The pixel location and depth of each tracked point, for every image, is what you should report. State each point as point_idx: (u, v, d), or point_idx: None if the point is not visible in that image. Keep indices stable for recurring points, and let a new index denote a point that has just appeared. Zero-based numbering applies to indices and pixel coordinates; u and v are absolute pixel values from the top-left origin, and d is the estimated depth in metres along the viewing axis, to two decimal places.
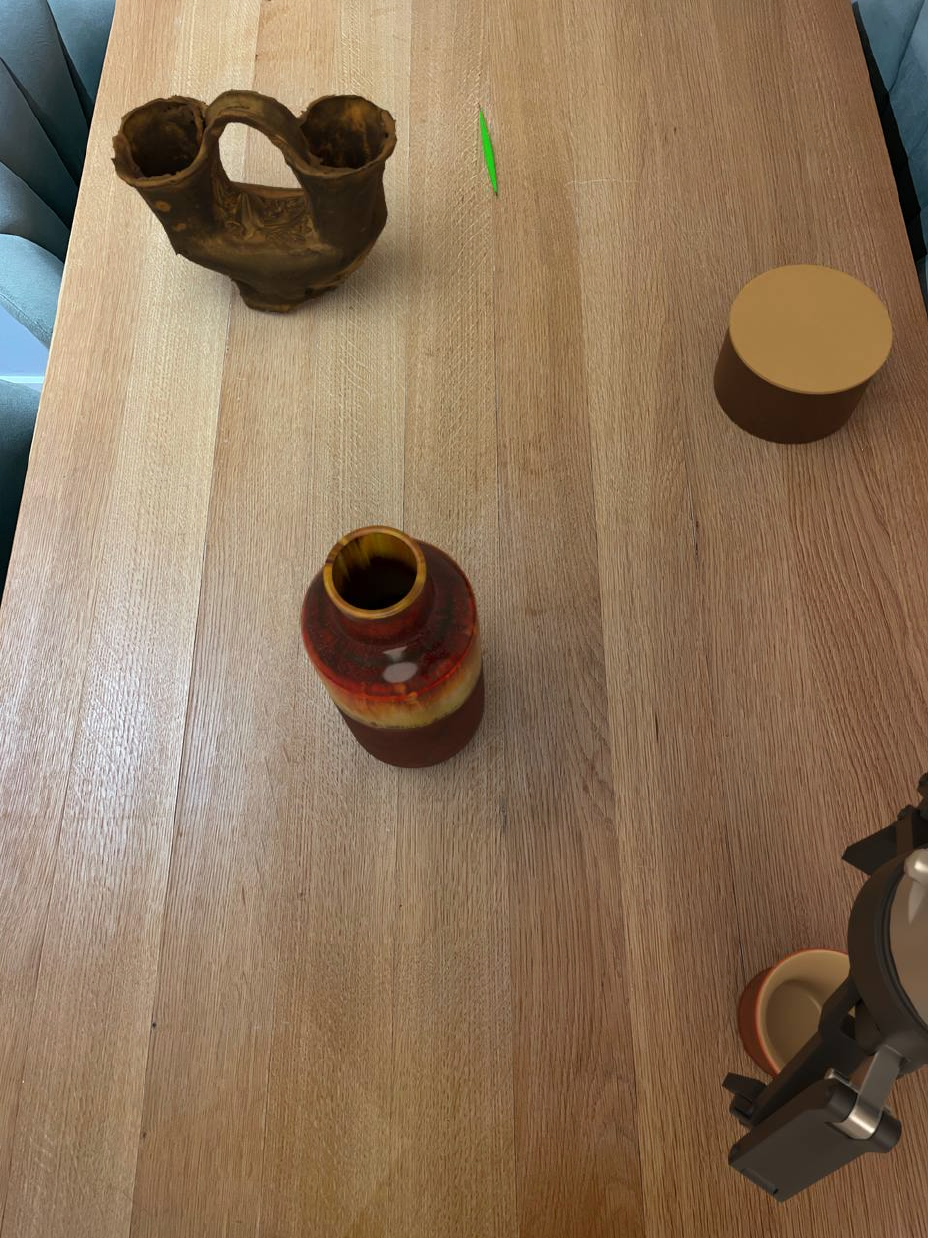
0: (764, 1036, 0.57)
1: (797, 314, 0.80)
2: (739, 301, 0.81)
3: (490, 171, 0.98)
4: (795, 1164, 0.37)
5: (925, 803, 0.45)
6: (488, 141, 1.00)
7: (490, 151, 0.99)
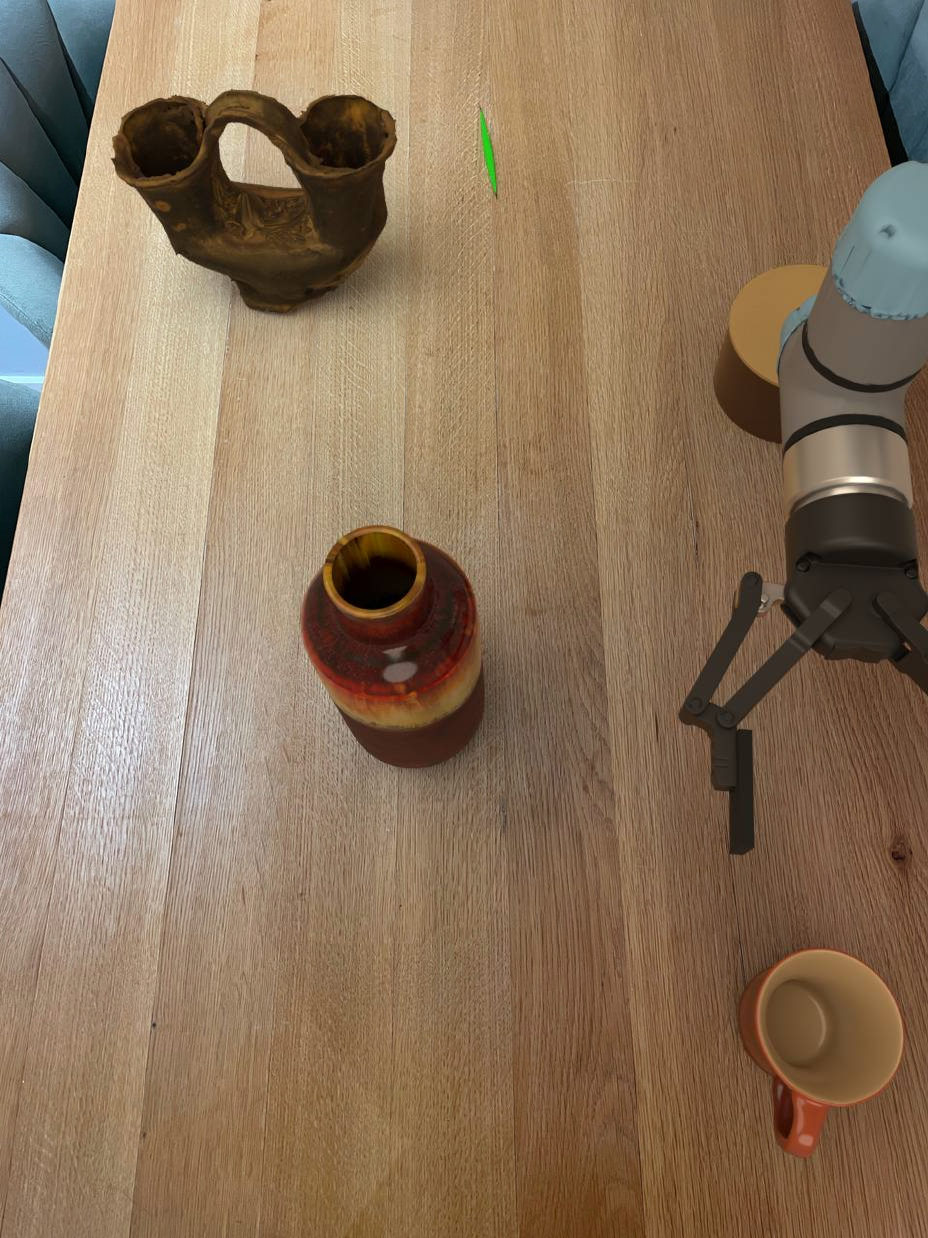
0: (764, 1036, 0.57)
1: None
2: (739, 301, 0.81)
3: (490, 172, 0.98)
4: None
5: None
6: (488, 142, 1.00)
7: (490, 152, 0.99)
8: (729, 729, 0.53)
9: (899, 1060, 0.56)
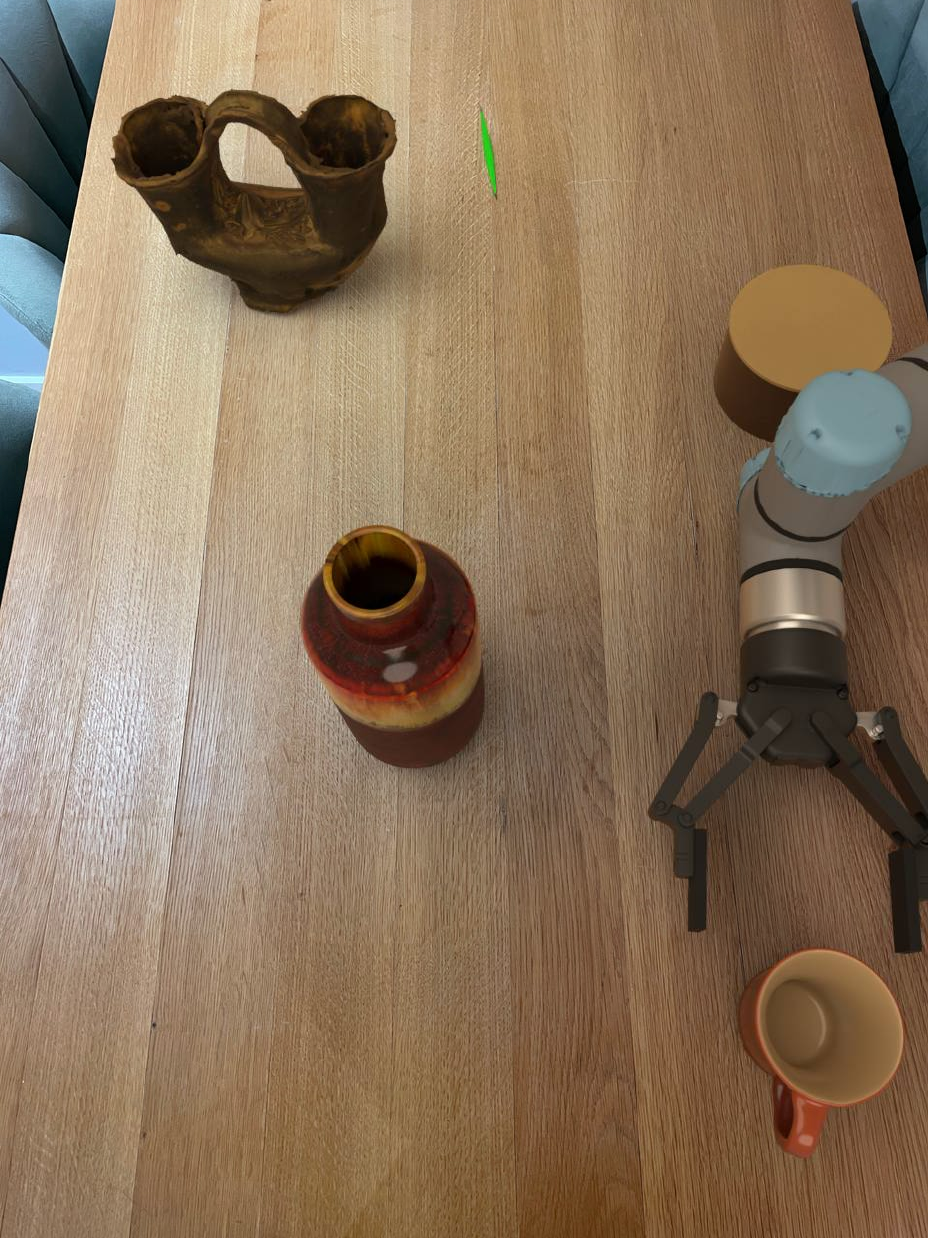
0: (764, 1036, 0.57)
1: (797, 314, 0.80)
2: (739, 301, 0.81)
3: (490, 173, 0.98)
4: (672, 766, 0.67)
5: None
6: (488, 143, 1.00)
7: (490, 153, 0.99)
8: (688, 827, 0.64)
9: (899, 1060, 0.56)
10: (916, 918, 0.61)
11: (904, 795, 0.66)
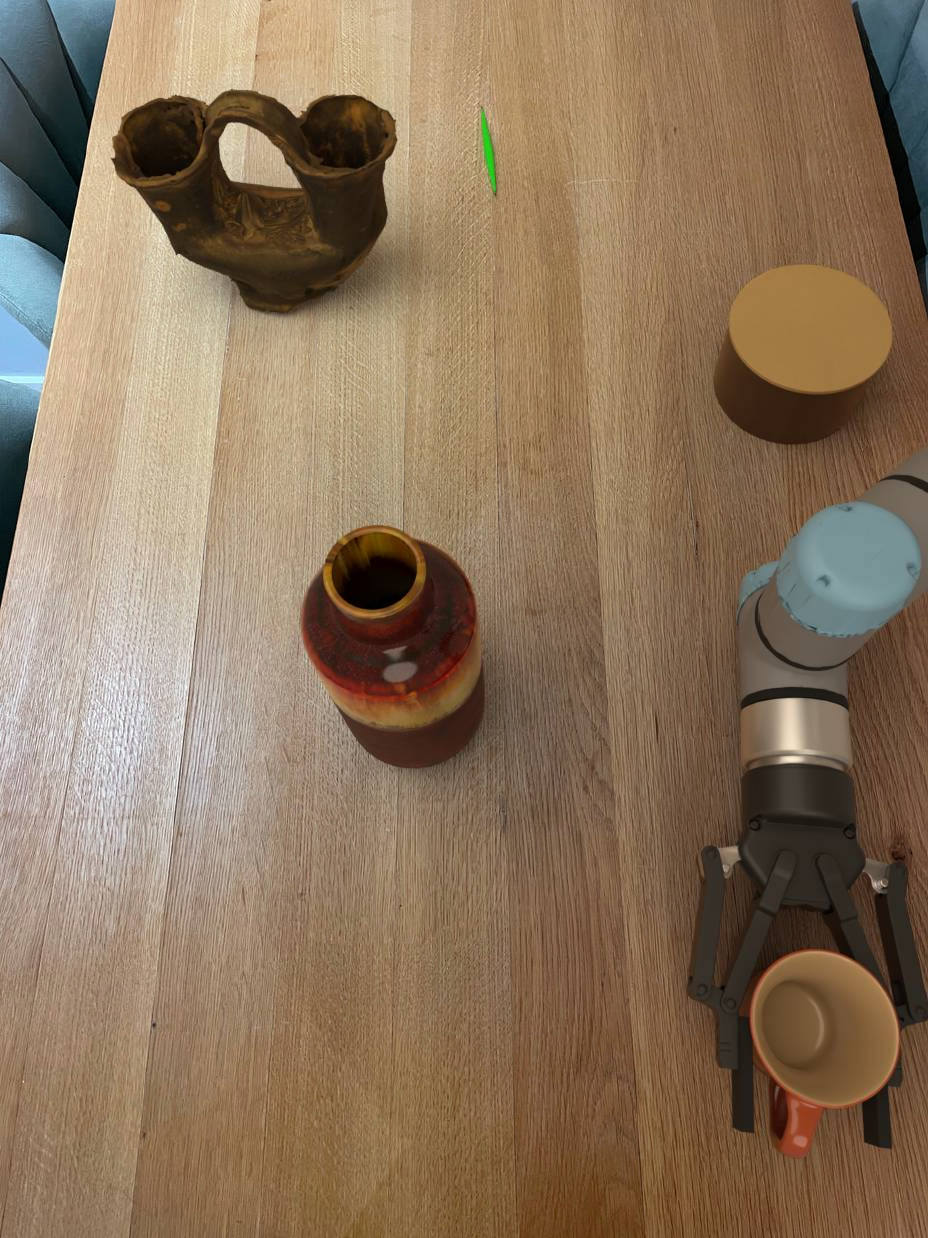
0: (758, 1037, 0.57)
1: (797, 314, 0.80)
2: (739, 301, 0.81)
3: (489, 171, 0.98)
4: (697, 938, 0.62)
5: None
6: (488, 141, 1.00)
7: (490, 151, 0.99)
8: (734, 1013, 0.60)
9: (894, 1062, 0.55)
10: (886, 1111, 0.57)
11: (889, 958, 0.62)
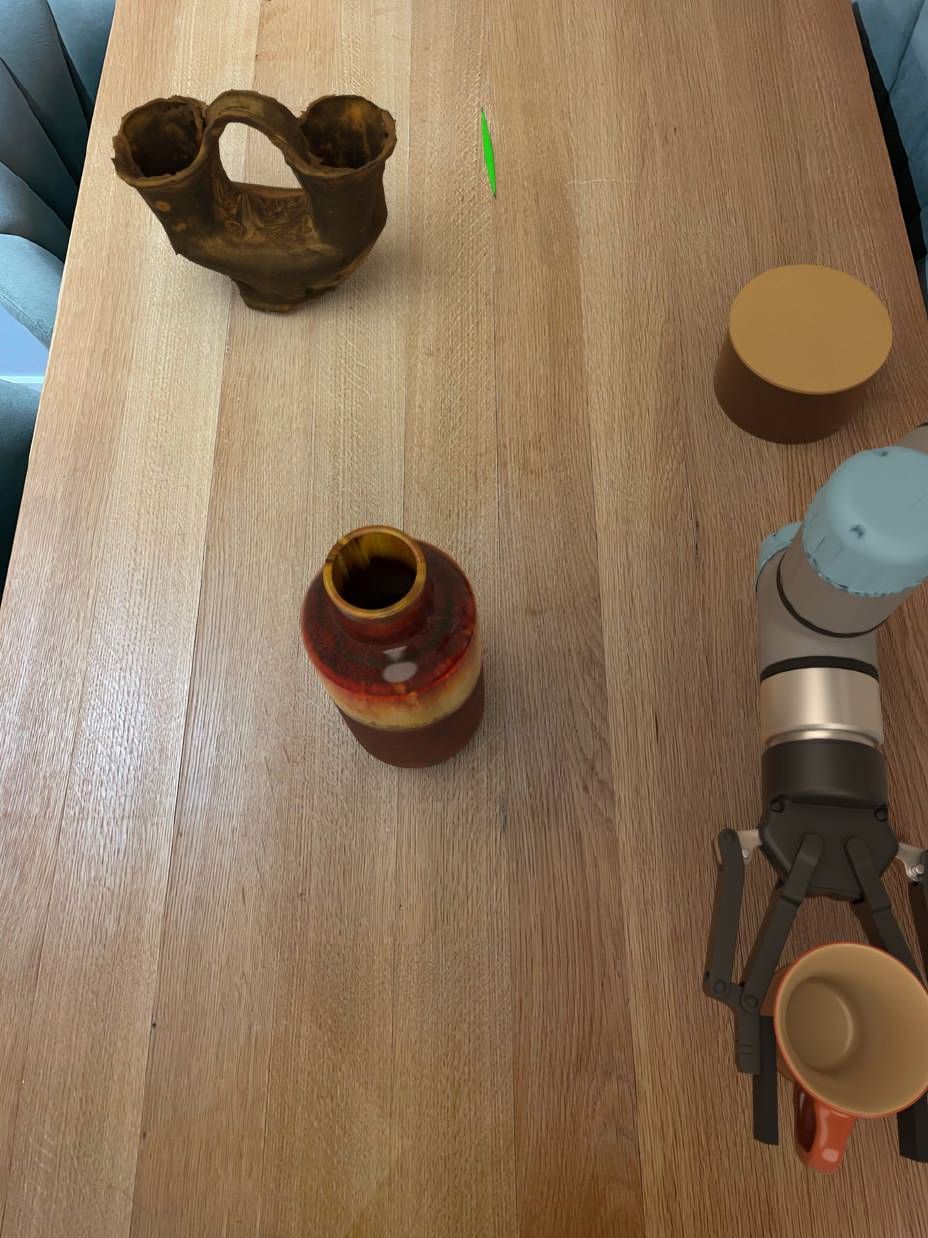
0: (783, 1038, 0.51)
1: (797, 314, 0.80)
2: (739, 301, 0.81)
3: (489, 173, 0.98)
4: (713, 930, 0.57)
5: None
6: (488, 143, 1.00)
7: (490, 153, 0.99)
8: (756, 1012, 0.54)
9: None
10: (925, 1121, 0.51)
11: (925, 953, 0.56)
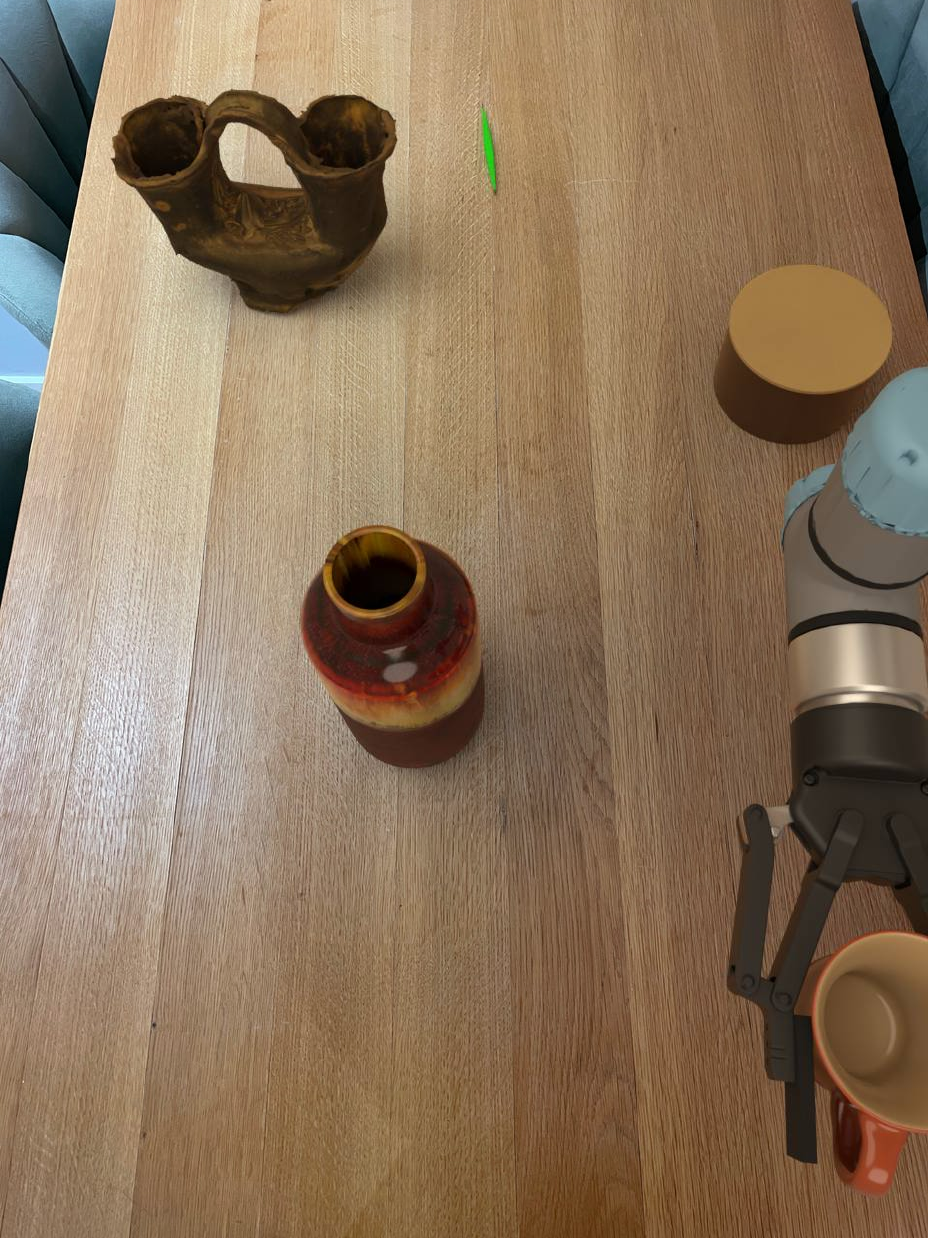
0: (823, 1041, 0.44)
1: (797, 314, 0.80)
2: (739, 301, 0.81)
3: (490, 169, 0.98)
4: (739, 918, 0.50)
5: None
6: (489, 139, 0.99)
7: (490, 149, 0.99)
8: (789, 1011, 0.48)
9: None
10: None
11: None
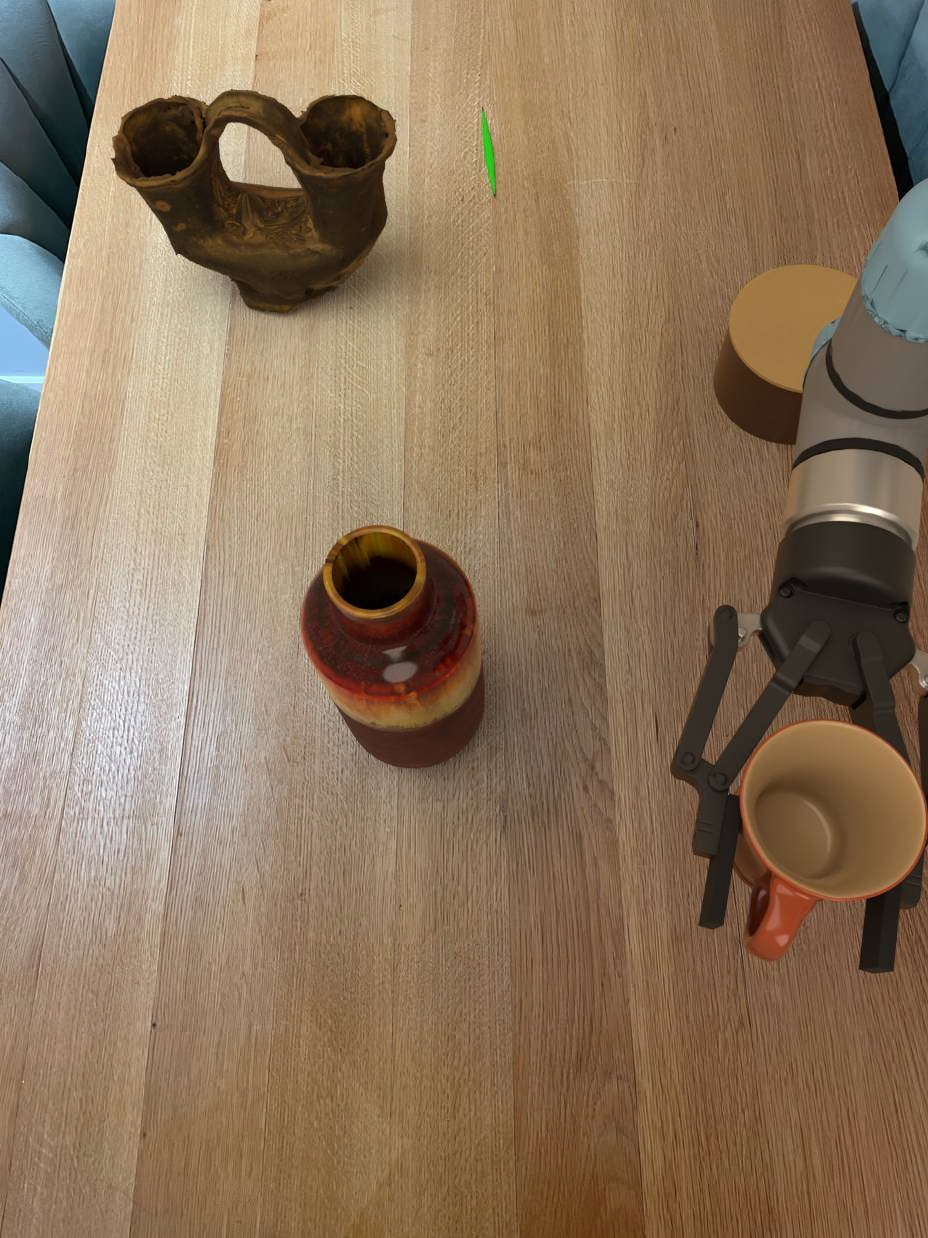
0: (748, 807, 0.46)
1: (797, 314, 0.80)
2: (739, 301, 0.81)
3: (489, 172, 0.98)
4: (692, 706, 0.52)
5: None
6: (489, 142, 1.00)
7: (490, 152, 0.99)
8: (724, 791, 0.49)
9: (914, 860, 0.44)
10: (893, 927, 0.46)
11: (926, 768, 0.50)
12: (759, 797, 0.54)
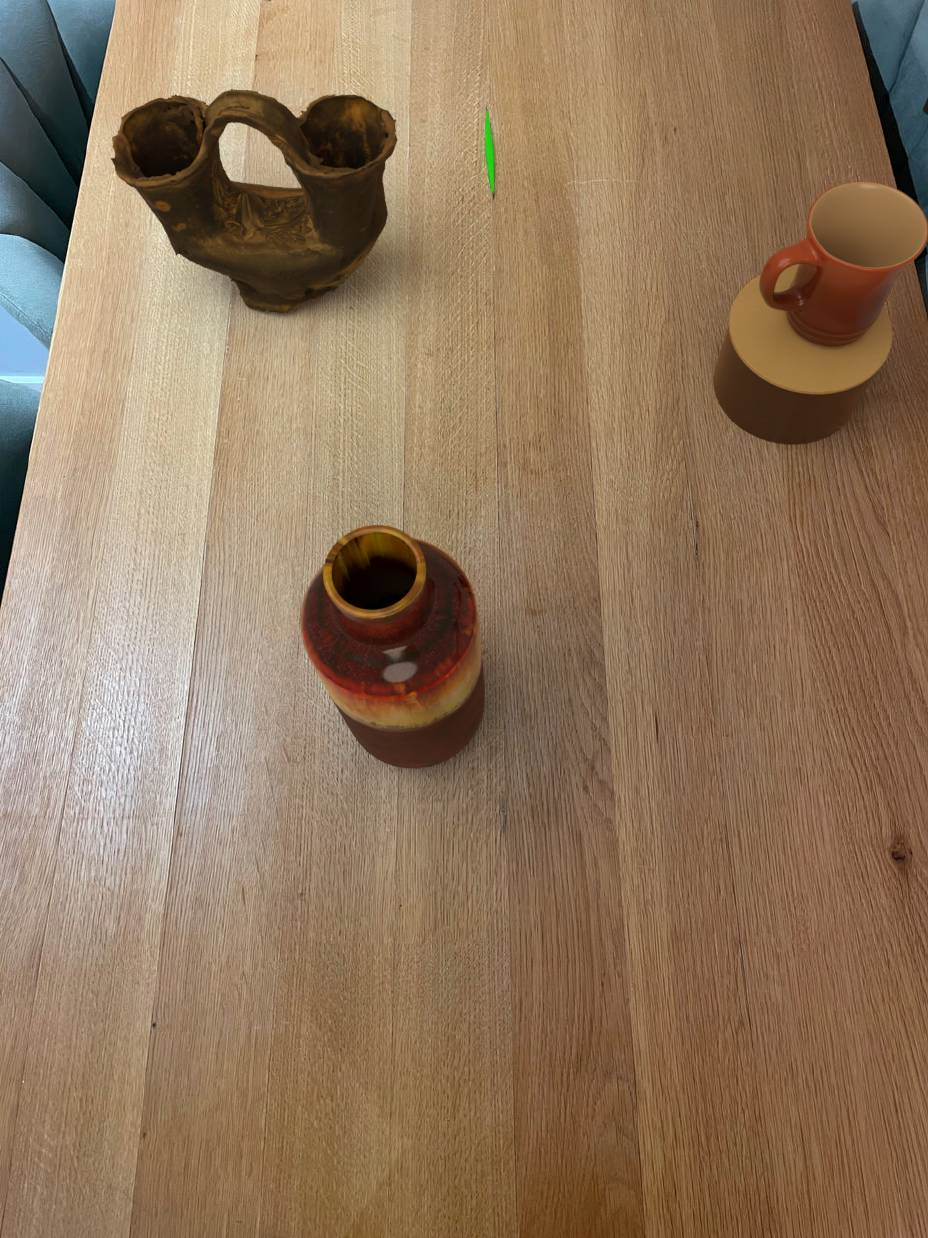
0: (823, 200, 0.71)
1: None
2: (739, 301, 0.81)
3: (489, 172, 0.98)
4: None
5: None
6: (490, 141, 1.00)
7: (491, 152, 0.99)
8: None
9: (886, 267, 0.68)
10: None
11: None
12: None
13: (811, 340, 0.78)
